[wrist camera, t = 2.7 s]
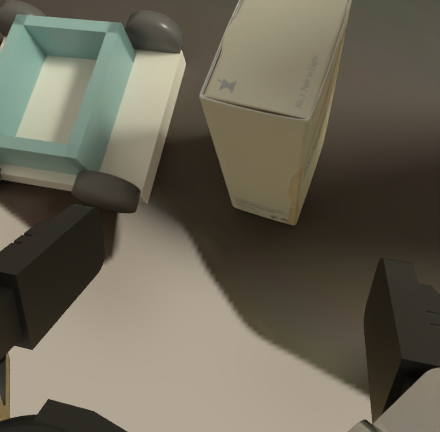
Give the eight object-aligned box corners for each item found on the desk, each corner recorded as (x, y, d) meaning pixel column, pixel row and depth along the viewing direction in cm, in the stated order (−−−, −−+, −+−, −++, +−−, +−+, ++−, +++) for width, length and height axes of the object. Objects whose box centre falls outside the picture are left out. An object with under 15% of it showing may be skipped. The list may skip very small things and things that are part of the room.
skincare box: (295, 228, 26) (312, 131, 14) (228, 207, 27) (193, 100, 15) (324, 140, 27) (360, -11, 16) (260, 123, 28) (249, -31, 17)
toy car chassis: (188, 53, 31) (175, 6, 27) (144, 217, 27) (119, 192, 23) (21, 37, 33) (-16, -8, 29) (-40, 185, 30) (-92, 157, 26)
